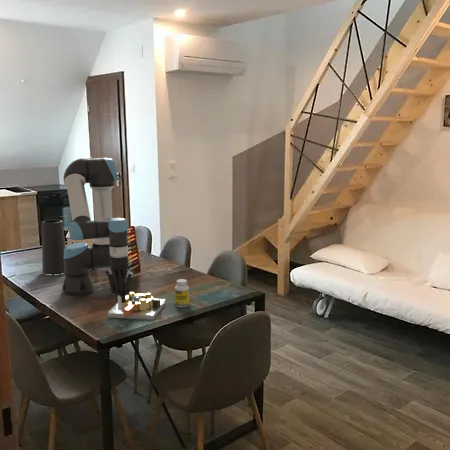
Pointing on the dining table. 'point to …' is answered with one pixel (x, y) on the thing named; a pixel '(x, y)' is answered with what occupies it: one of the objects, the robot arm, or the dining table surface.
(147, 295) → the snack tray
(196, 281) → the dining table surface
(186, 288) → the pill bottle
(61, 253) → the vase
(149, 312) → the plate
